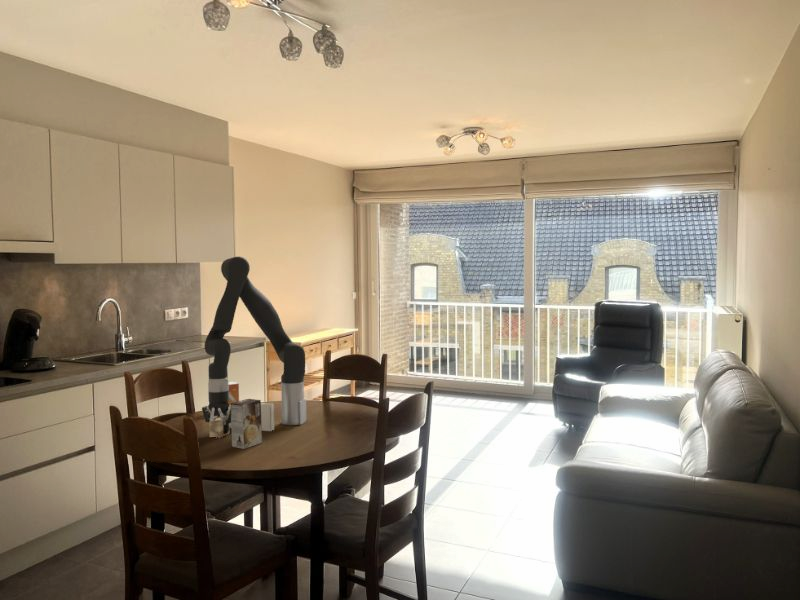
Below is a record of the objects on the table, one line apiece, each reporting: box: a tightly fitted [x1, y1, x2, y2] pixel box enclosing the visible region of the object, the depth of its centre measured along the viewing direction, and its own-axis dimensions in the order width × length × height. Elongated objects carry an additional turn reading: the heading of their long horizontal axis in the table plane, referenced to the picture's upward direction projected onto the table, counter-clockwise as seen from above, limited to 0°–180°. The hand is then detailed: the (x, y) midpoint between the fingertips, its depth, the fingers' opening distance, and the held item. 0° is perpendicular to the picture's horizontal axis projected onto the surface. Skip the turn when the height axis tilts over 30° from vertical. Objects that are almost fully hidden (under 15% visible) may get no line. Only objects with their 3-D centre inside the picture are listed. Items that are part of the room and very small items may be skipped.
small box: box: [228, 381, 240, 405], centre depth 279 cm, size 8×6×13 cm
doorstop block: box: [208, 417, 231, 439], centre depth 238 cm, size 4×7×6 cm, turn 166°
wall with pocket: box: [261, 402, 275, 432], centre depth 245 cm, size 9×3×11 cm, turn 76°
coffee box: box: [231, 398, 263, 450], centre depth 224 cm, size 9×6×16 cm
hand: (219, 433), depth 238 cm, fingers closed on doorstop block, 4 cm apart
